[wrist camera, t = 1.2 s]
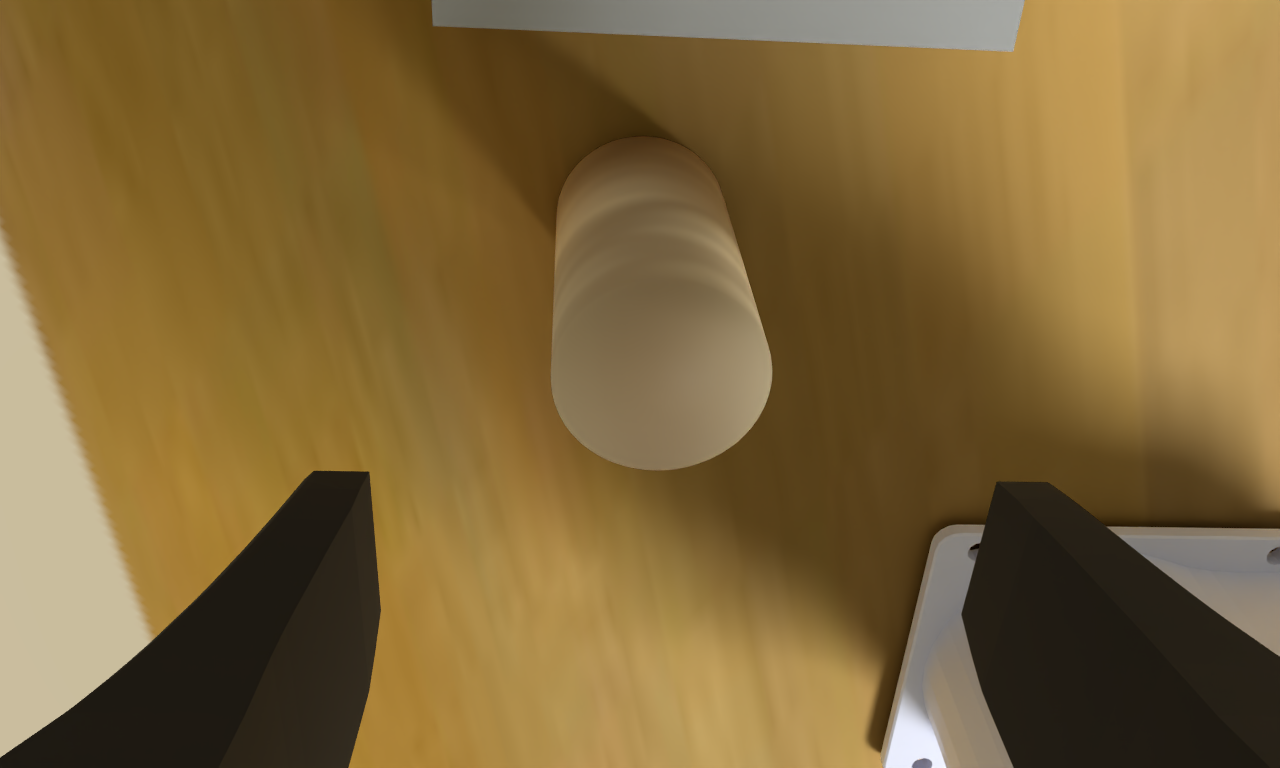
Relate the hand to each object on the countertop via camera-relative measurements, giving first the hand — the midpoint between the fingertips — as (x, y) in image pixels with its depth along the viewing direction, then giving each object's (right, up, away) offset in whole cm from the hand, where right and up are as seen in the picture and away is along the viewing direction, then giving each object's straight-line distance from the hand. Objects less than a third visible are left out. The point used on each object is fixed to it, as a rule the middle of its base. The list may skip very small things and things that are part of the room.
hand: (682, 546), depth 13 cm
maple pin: (-1, +5, +8) cm, 10 cm away
